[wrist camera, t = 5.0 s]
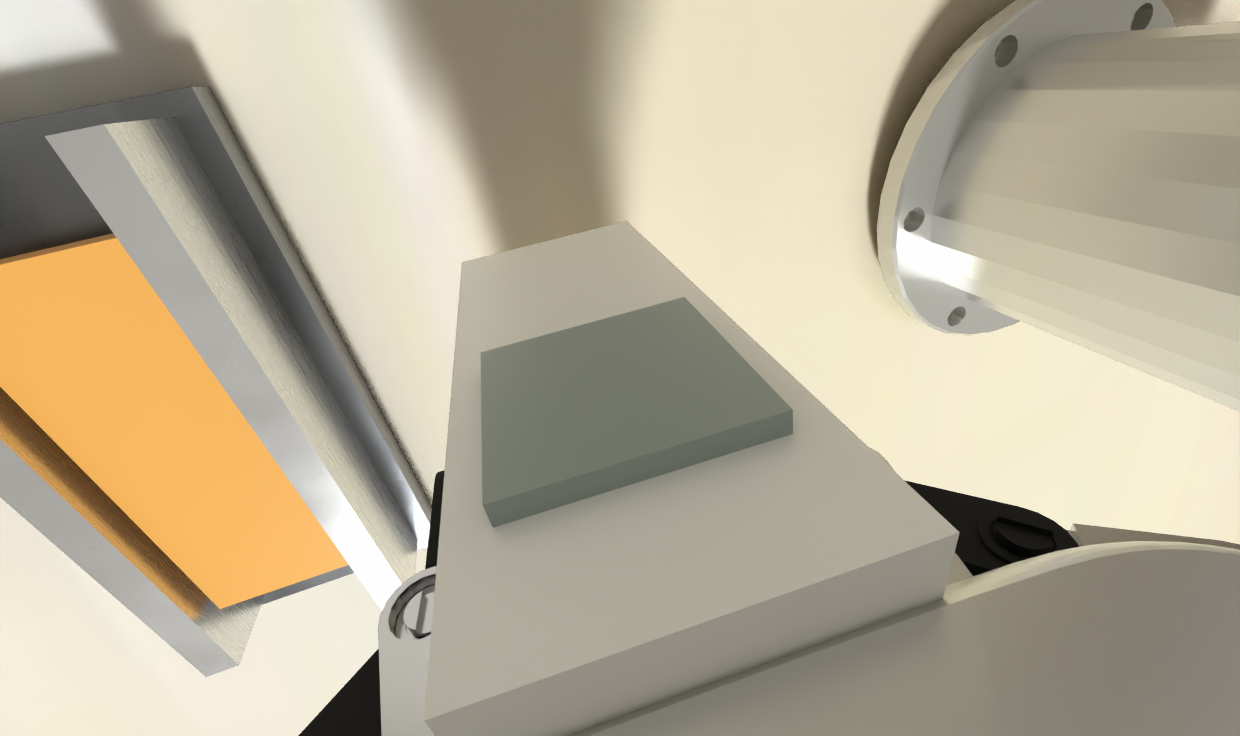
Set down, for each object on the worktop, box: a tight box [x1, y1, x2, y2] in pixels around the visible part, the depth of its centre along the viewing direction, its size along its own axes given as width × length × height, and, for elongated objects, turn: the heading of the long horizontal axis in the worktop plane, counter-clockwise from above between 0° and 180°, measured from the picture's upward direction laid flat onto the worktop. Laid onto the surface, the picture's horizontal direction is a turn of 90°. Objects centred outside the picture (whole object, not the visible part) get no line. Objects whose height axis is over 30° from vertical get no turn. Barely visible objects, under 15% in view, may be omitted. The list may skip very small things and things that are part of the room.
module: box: [424, 221, 960, 736], centre depth 10 cm, size 4×7×10 cm, turn 11°
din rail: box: [0, 87, 432, 677], centre depth 15 cm, size 8×16×4 cm, turn 10°
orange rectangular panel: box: [0, 233, 349, 609], centre depth 14 cm, size 4×11×1 cm, turn 11°
